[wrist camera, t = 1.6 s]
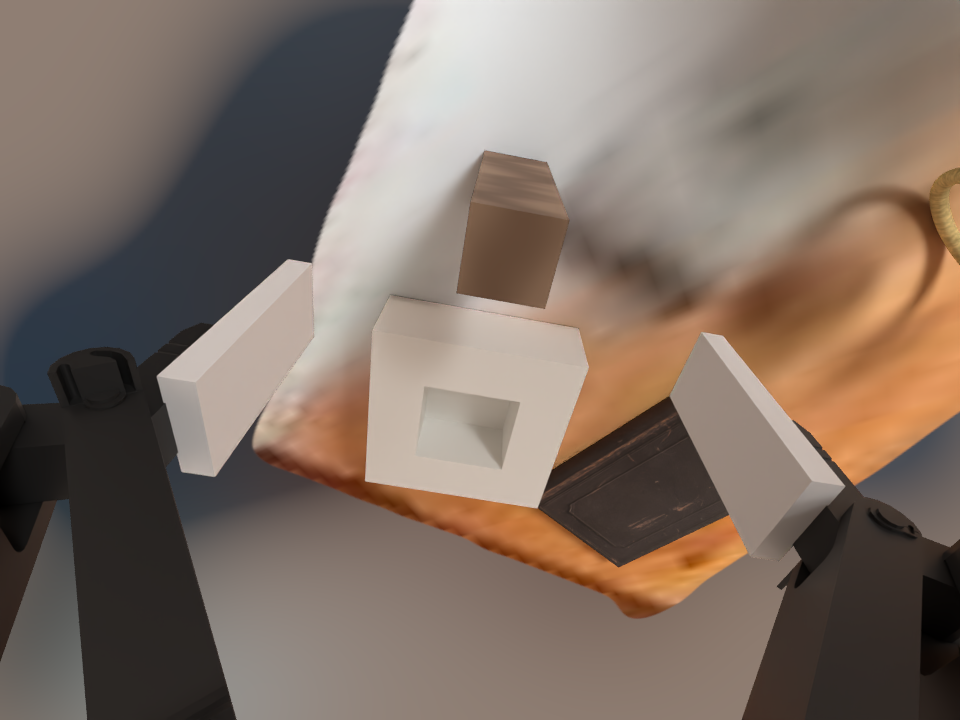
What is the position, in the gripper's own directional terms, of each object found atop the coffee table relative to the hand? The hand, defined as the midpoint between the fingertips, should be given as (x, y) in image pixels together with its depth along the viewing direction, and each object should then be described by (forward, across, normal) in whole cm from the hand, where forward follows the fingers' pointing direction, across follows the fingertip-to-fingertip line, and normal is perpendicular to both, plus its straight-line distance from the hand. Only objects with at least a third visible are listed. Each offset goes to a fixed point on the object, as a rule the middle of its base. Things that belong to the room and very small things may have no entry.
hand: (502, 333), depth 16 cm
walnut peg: (+21, 0, 0) cm, 21 cm away
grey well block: (+21, 0, -18) cm, 27 cm away
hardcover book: (+22, +21, -25) cm, 39 cm away
